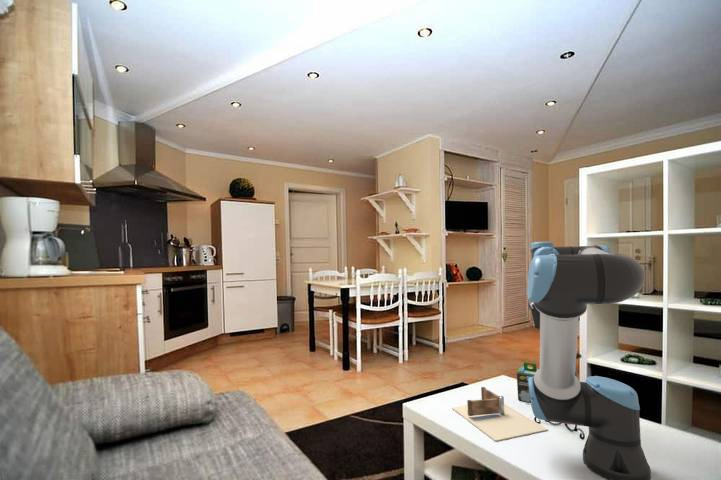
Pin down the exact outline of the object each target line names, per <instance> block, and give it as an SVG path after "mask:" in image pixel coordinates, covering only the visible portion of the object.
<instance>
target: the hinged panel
mask: <svg viewBox="0 0 721 480" xmlns="http://www.w3.org/2000/svg"><path fill="white" fill-rule="evenodd" d="M467 405H468V415H469V416H475V415H486V414H496V413H499V401H498V399H497V398H494V399H482V398H481V399H473V400H472V399H467Z"/></svg>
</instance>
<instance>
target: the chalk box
mask: <svg viewBox="0 0 721 480" xmlns="http://www.w3.org/2000/svg"><path fill="white" fill-rule="evenodd" d="M530 366H531V367H530ZM538 369H540V367H539V368H537V364H536V363H533V362H527V361H526V362H523V366H520V367H519V368H518V370H517V371H516V387H517V400H518V401H519V402H520V401H521V402H525V403H530V404H531V399H530V393H529V384H528V379H529V377H532V376H534V375H535V372H536V371H537V370H538Z"/></svg>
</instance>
